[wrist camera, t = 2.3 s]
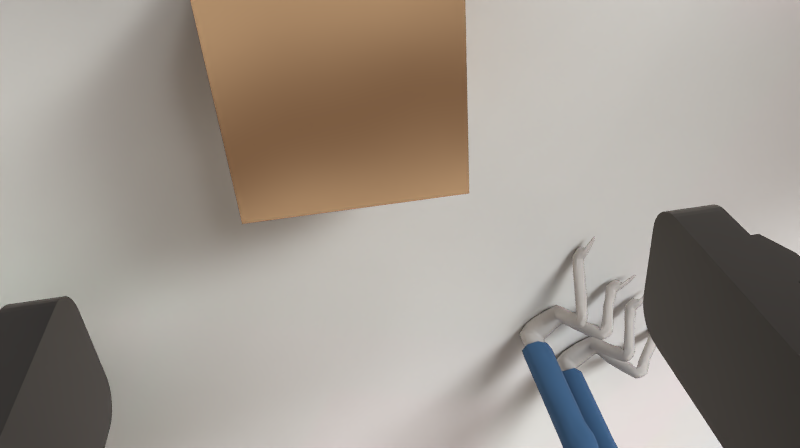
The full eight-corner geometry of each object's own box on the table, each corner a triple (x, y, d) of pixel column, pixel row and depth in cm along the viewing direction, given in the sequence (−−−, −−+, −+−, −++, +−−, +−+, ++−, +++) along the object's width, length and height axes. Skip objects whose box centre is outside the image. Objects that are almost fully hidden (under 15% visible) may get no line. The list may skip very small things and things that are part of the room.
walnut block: (210, -67, 18) (187, -12, 14) (419, -88, 19) (464, -42, 14) (250, 126, 21) (242, 224, 17) (429, 103, 22) (468, 193, 17)
